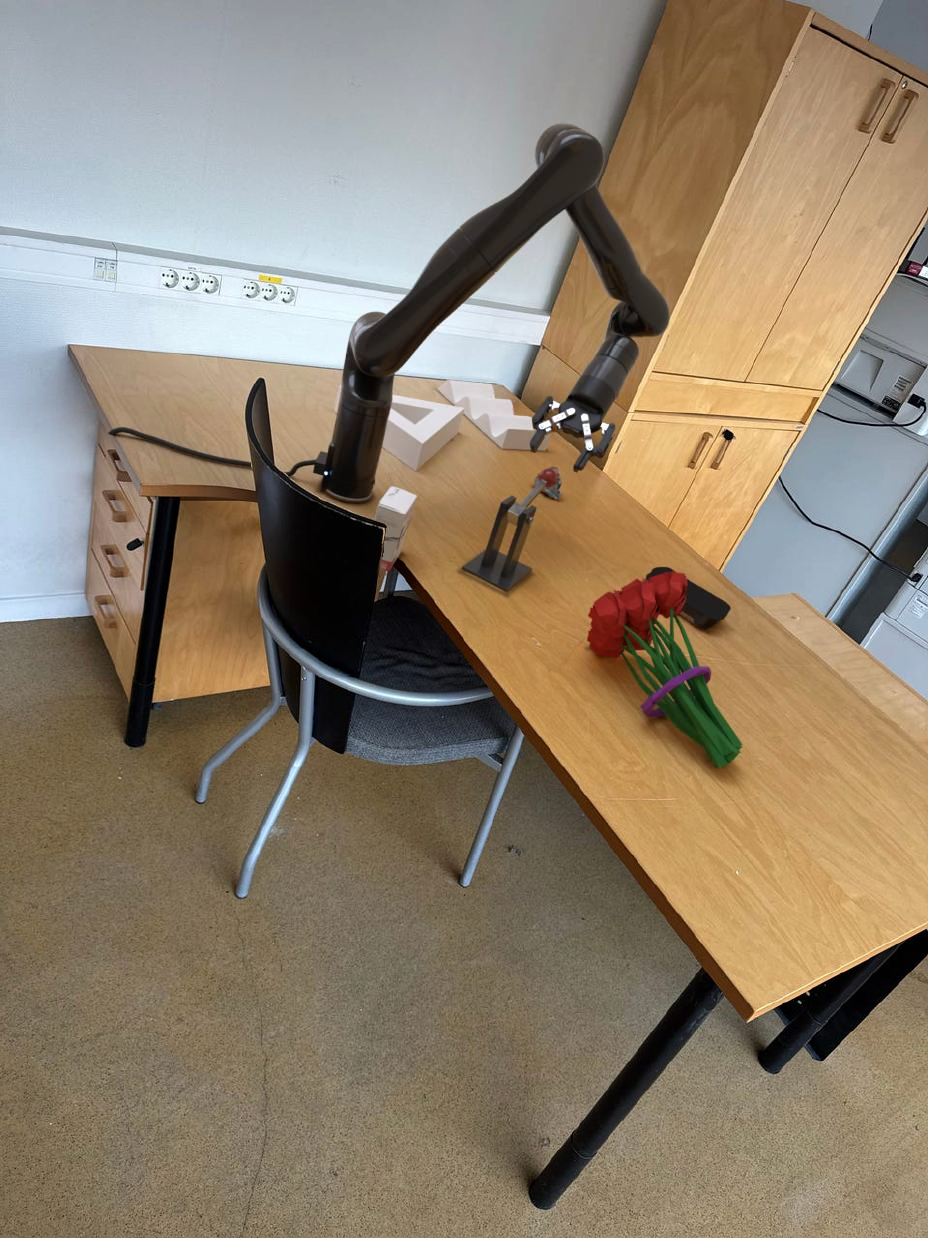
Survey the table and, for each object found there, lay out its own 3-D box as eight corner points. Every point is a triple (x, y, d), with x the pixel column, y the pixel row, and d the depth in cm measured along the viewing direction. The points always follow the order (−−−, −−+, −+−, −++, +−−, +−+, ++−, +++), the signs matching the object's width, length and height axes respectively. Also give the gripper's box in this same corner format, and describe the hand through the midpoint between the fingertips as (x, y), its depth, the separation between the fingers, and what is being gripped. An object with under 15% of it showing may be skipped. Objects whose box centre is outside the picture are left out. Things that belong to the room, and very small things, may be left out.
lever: (542, 476, 154) (545, 461, 151) (558, 484, 153) (562, 469, 150) (502, 521, 144) (504, 506, 142) (519, 529, 144) (522, 515, 141)
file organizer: (478, 393, 232) (483, 375, 229) (545, 450, 208) (552, 431, 206) (437, 389, 225) (442, 370, 222) (501, 448, 202) (508, 428, 199)
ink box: (389, 576, 139) (405, 513, 133) (360, 566, 139) (375, 503, 133) (402, 554, 146) (418, 493, 140) (375, 544, 147) (390, 483, 140)
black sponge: (727, 623, 157) (735, 607, 156) (706, 635, 152) (714, 618, 150) (656, 579, 165) (663, 563, 163) (634, 588, 159) (641, 572, 157)
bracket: (487, 552, 156) (509, 485, 148) (530, 573, 153) (554, 506, 146) (460, 572, 147) (482, 502, 139) (505, 595, 144) (529, 525, 137)
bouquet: (667, 810, 119) (551, 650, 133) (736, 780, 129) (622, 634, 143) (750, 729, 106) (613, 562, 120) (819, 702, 116) (685, 551, 130)
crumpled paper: (541, 483, 190) (550, 455, 186) (561, 500, 185) (571, 472, 181) (526, 483, 188) (535, 454, 184) (546, 500, 183) (556, 472, 179)
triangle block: (333, 410, 193) (338, 384, 189) (418, 406, 210) (424, 382, 207) (415, 471, 177) (422, 443, 174) (500, 461, 194) (508, 435, 191)
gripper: (562, 360, 150) (516, 433, 147) (634, 390, 146) (589, 466, 143) (563, 384, 157) (520, 454, 154) (632, 414, 153) (589, 486, 150)
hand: (553, 460), depth 148 cm, fingers open, 8 cm apart
